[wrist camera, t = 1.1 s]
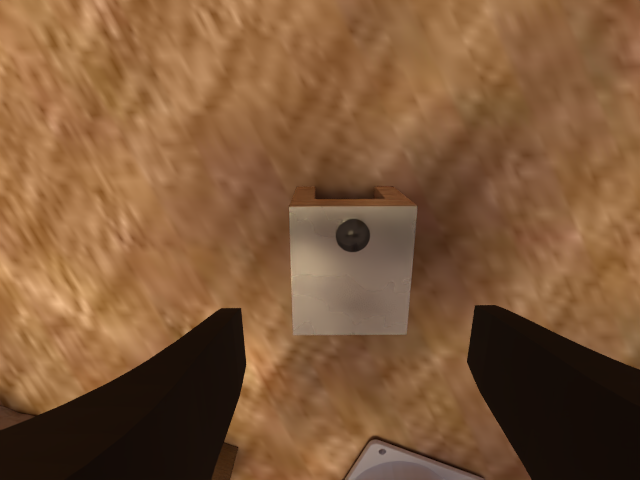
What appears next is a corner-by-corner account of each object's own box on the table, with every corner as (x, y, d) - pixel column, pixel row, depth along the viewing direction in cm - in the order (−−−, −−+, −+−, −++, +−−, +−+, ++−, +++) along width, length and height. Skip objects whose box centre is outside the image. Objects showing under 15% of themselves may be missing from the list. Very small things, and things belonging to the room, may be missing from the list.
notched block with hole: (392, 186, 19) (419, 207, 14) (386, 286, 21) (407, 337, 16) (296, 186, 19) (288, 207, 14) (299, 287, 21) (292, 337, 16)
